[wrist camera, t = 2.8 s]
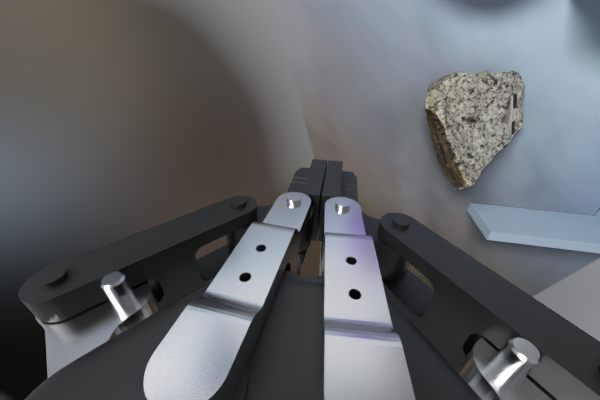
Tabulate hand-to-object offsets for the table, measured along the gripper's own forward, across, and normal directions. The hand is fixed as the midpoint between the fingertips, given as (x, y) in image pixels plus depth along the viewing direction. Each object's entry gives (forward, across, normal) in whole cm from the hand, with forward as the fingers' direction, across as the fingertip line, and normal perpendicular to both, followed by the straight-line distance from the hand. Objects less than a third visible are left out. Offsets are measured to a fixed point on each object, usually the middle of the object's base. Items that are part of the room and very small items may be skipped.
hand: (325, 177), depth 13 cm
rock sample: (+15, -12, -1) cm, 19 cm away
